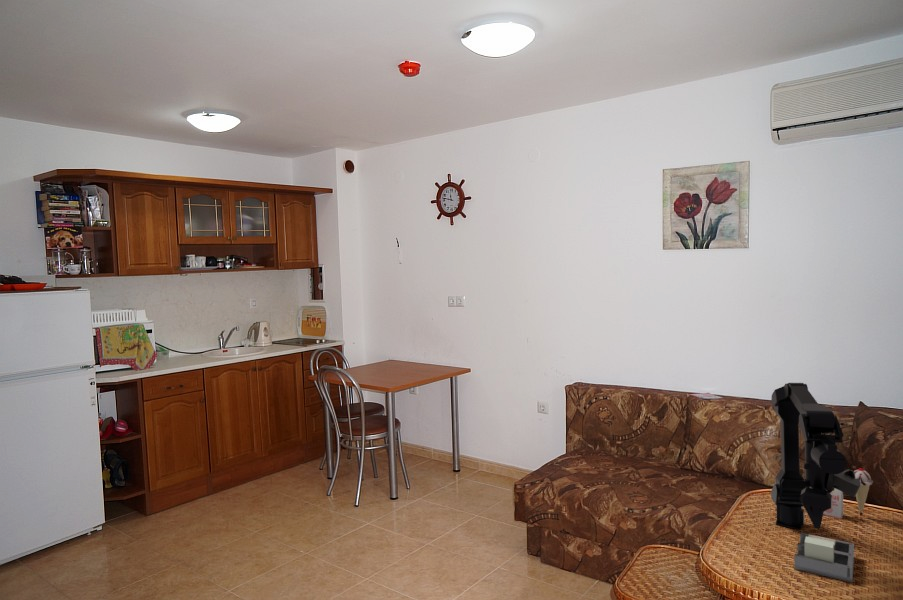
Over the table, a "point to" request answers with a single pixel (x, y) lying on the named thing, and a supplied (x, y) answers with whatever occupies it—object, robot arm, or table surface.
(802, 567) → the gray compartment tray
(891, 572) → the table surface
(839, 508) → the white boxy piece
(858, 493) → the ice cream cone
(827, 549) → the pale sage upright block
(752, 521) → the table surface
